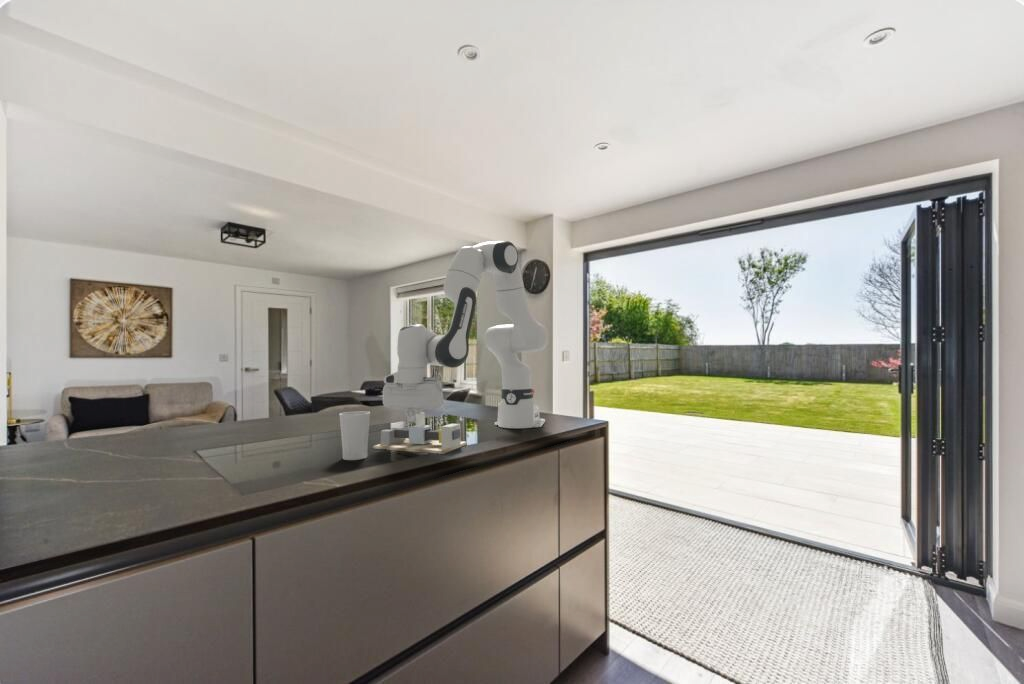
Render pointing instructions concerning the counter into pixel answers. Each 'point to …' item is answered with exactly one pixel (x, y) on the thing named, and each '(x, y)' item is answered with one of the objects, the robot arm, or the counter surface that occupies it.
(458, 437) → the connector
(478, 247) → the robot arm
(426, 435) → the dark grey bar
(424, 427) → the sleeve
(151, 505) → the counter surface
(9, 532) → the counter surface
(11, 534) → the counter surface
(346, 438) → the cup
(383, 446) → the board
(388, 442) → the light grey block
